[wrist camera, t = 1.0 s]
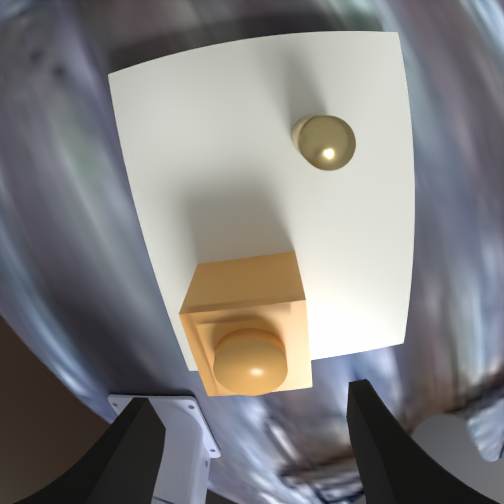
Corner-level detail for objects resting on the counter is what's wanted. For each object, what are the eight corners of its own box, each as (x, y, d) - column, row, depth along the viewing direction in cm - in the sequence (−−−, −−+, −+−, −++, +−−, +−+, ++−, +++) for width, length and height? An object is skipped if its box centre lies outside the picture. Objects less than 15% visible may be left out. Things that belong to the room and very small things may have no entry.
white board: (396, 329, 20) (403, 343, 19) (193, 355, 21) (189, 370, 20) (386, 38, 13) (397, 32, 11) (120, 76, 14) (108, 74, 13)
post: (336, 155, 14) (358, 168, 11) (294, 160, 14) (304, 174, 11) (331, 113, 13) (352, 113, 10) (288, 117, 13) (296, 118, 10)
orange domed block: (303, 329, 18) (314, 402, 13) (218, 339, 19) (205, 411, 14) (294, 250, 16) (309, 315, 11) (197, 264, 17) (172, 329, 12)
